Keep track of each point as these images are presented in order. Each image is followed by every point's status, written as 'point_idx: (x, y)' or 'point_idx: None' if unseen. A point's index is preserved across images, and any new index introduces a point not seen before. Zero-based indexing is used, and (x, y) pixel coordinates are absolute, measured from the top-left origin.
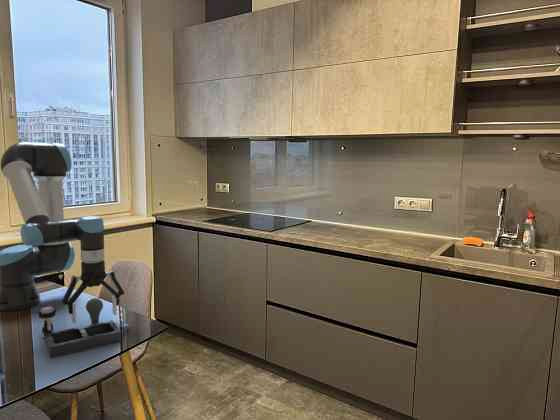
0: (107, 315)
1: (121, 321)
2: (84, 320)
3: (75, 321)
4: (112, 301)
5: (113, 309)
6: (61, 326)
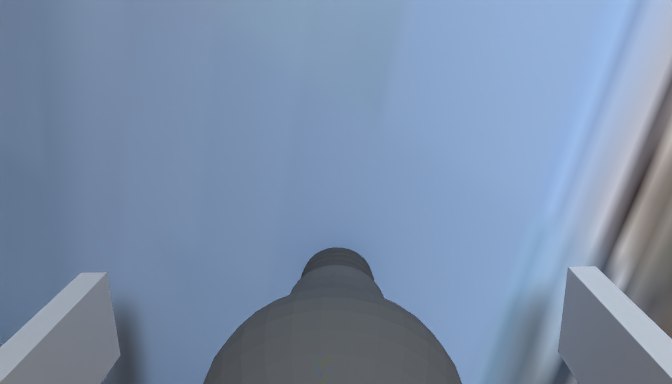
0: (530, 52)
1: None
2: (257, 73)
3: (109, 366)
4: (659, 371)
5: (591, 346)
6: (12, 122)
